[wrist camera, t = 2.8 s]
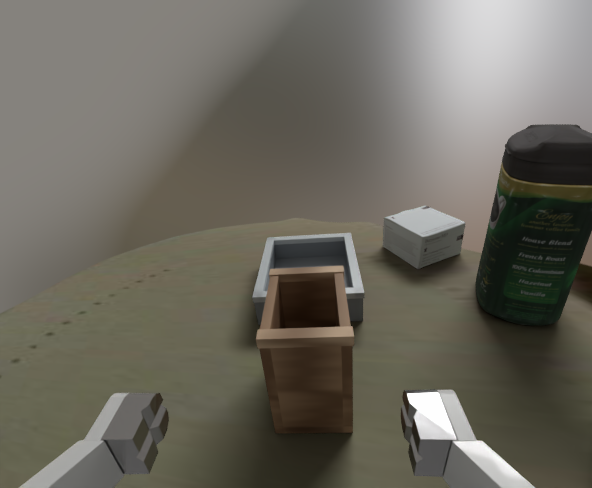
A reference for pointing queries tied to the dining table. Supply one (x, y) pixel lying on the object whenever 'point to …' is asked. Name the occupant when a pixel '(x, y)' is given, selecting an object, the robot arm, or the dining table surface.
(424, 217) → the small box
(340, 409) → the walnut crate
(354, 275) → the tray
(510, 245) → the coffee jar
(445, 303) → the dining table surface
